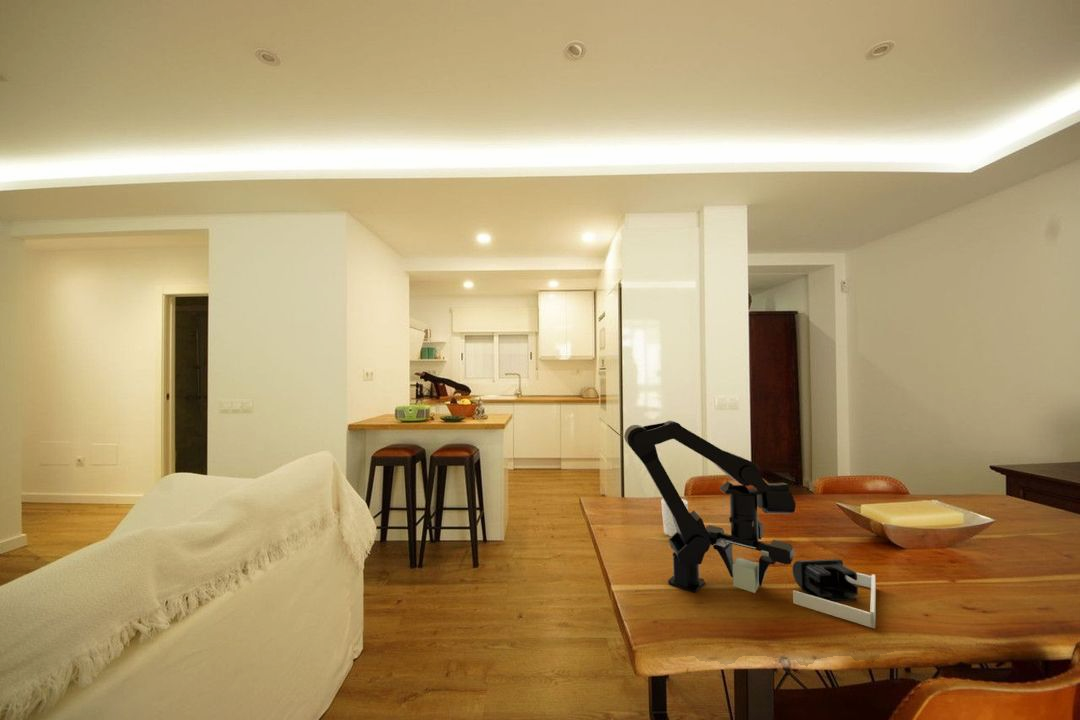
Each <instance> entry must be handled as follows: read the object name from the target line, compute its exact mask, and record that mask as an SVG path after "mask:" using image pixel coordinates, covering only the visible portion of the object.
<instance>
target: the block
mask: <svg viewBox="0 0 1080 720" xmlns="http://www.w3.org/2000/svg"><path fill="white" fill-rule="evenodd" d="M732 580H733V581H732V584H733V585H732V586H733V587H735V588H738V589H741V590H745V591H747V592H750V593H754V594H756V592H757V591H758V589H759V588H760V586H759V562H757V561H756V562H755V561H753V560H748V559H744V558H741V557H737V558H736V559H735V561H733V578H732Z"/></svg>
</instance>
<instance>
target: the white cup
mask: <svg viewBox="0 0 1080 720" xmlns="http://www.w3.org/2000/svg"><path fill="white" fill-rule="evenodd" d="M681 499H682V501H683V503H684V505H685V506H686V508H687V510H688V511H689V509H688V505H689V503H688V500H686V499H683V498H681ZM660 501H661V514H662V515H661V516H662V524H663V533H664V534H665V535H666V536H669V537H670V538H671V537H672V536H673V535H674V534H675V533H676V532H677V530H676V527H675V524H674V521H673V517H672V514H671V512H670V510H669V508H668V507H667V505H666V503H665V501H664V499H663V498H661V500H660Z"/></svg>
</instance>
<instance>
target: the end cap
mask: <svg viewBox="0 0 1080 720" xmlns="http://www.w3.org/2000/svg"><path fill="white" fill-rule="evenodd" d="M856 573H857V572H855V571H854V570H852V569H850V568H848V567H847V566H845V565H844V561H843V560H842V559H839V558H831V559H808V560H807V559H806V560H805V559H803V560H797V561H794V563H793V564H792V576H793V578H794V581H795V582H796V584H797V586H798V587H799V589H801V590H802V592H803V593H805V594H809V595H812V596H815V597H819V598H822V599H826V600H829V601H832V602H836V603H840V602H841V603H842V602H857V600H858V598H857V595H858V593H859V587H858V586H859V585H857V584H853V583H851V582H849V581H848V580H847V579H846V575H847V576H849V577H850V578H852V579H854V580H857V574H856Z"/></svg>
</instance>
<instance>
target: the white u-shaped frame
mask: <svg viewBox="0 0 1080 720" xmlns="http://www.w3.org/2000/svg"><path fill="white" fill-rule="evenodd" d="M856 574H857V580H854V579H852V578H850V577H849V576H847V575H846V579H847V580H848V581H849V582H851V583H852V584H854V585H856V586H861V587H864V588H865V587H866V588H870V607H869V608H870V609H869V611H866V610H863V609H859V608H856V607H854V606H849V605H846V604H843V603H840V602H832V601H829V600H826V599H822V598H819V597H815V596H812V595H809V594H806V593H805V592H803V591H802V592H801V591H798V590H794V589H793V590H792V601H793V602H792V603H793V604H795V605H798V606H800V607H804V608H807V609H811V610H814V611H817V612H819V613H823V614H827V615H830V616H833V617H837V618H840V619H843V620H846V621H849V622H852V623H855V624H859V625H863V626H865V627H867V628H871V629H876V616H877V615H876V612H877V611H876V610H877V609H876V607H877V606H876V605H877V603H876V602H877V601H876V600H877V584H876V583H877V582H876V574H871V575H870V574H865V573H861V572H856Z"/></svg>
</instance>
